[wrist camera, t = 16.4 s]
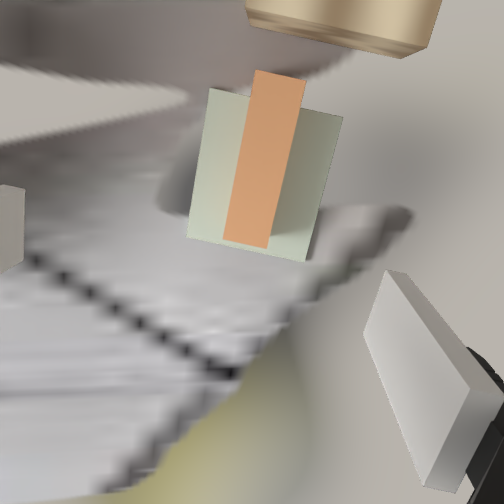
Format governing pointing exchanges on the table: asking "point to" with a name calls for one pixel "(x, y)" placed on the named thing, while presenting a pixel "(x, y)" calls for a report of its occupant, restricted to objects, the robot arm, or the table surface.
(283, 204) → the mat
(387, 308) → the robot arm
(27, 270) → the table surface
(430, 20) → the frame
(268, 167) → the bar
